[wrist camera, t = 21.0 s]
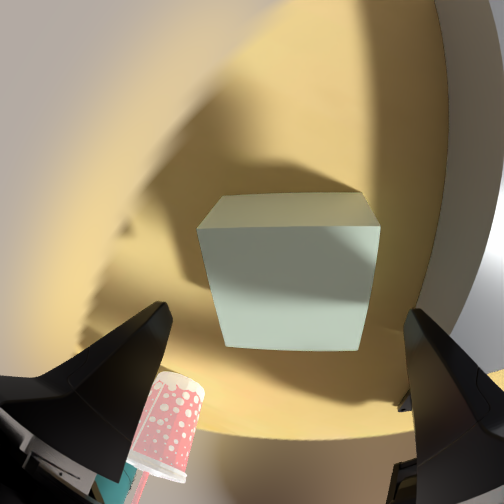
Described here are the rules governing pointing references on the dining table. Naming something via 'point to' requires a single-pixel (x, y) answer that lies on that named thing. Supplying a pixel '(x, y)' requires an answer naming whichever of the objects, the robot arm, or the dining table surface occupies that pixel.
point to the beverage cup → (166, 429)
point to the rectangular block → (291, 268)
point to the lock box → (471, 186)
